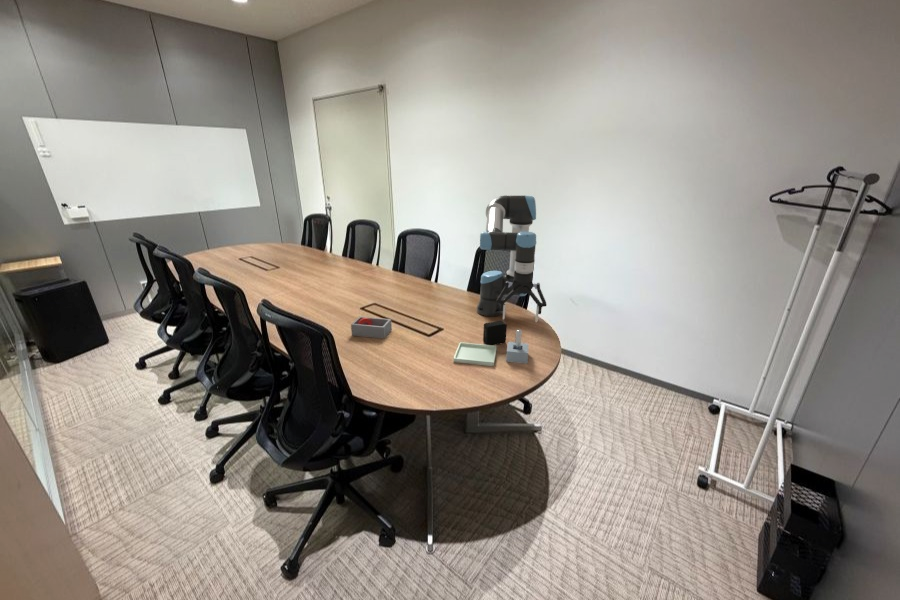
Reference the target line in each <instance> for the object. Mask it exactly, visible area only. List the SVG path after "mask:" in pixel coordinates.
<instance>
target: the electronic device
mask: <svg viewBox="0 0 900 600" xmlns="http://www.w3.org/2000/svg"><path fill="white" fill-rule="evenodd" d="M507 329H508V325H507V323H506V322H505V321H504V320H498V321H497V320H495V321H491V322H485V323H484V324H483V334H482V341H483V343H484V345H494V346H496V345H495V344H497V345H501V344H500V343H502V344H505V343H506V341H507Z"/></svg>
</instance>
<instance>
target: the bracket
mask: <svg viewBox="0 0 900 600" xmlns="http://www.w3.org/2000/svg"><path fill="white" fill-rule="evenodd" d="M365 322H367V325H372V322H371V320H370V319H368V318H362V319H361V320H360V321H359V322H358V324H362V325H363V323H365Z"/></svg>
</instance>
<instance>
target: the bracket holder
mask: <svg viewBox="0 0 900 600" xmlns="http://www.w3.org/2000/svg"><path fill="white" fill-rule="evenodd" d="M362 318H368V319H370V320H371V322H372V325H367V322H365V323H363V325H362V324H358V322H359V321H360V320H361V319H362ZM350 329H351V335H352V336H353V337H354V336H355V337H364V338H375V339H383V340H384V339H386V338H387V337H388V335H389V334H390V333H391V332H392V331H393V329H392V319H391V318H382V317H380V318H379V317H369V316H358V317H357V318H356V319H355V320H354V321H353V322H351V323H350Z"/></svg>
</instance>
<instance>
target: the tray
mask: <svg viewBox="0 0 900 600" xmlns="http://www.w3.org/2000/svg"><path fill="white" fill-rule="evenodd" d="M497 348H498V345H486V344H485V343H484V344H480V343H471V342H462V341H461V342H459V343H458V345H457V348H456V351H455V352H454V356H453V360H452V361H453V363H458V364H459V363H461V364H470V365H478V366H487V367H488V366H489V367H494V366H495V361H496V354H497V351H498V350H497Z"/></svg>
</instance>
